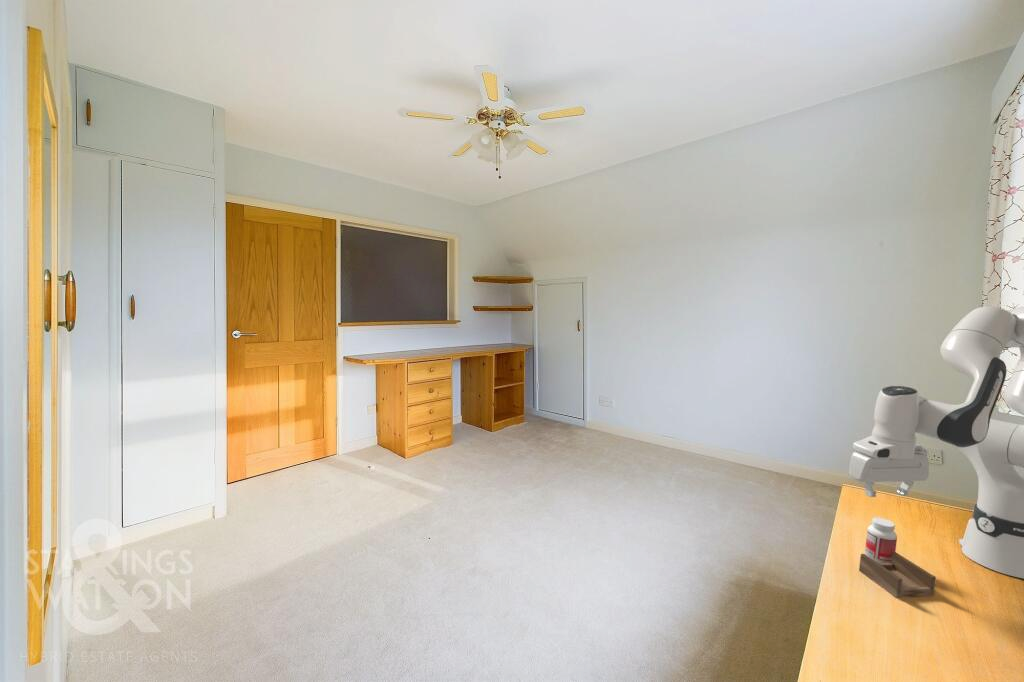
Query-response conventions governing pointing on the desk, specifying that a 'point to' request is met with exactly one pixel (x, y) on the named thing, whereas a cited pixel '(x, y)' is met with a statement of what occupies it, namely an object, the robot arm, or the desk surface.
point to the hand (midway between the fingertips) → (886, 495)
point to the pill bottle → (881, 540)
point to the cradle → (898, 576)
